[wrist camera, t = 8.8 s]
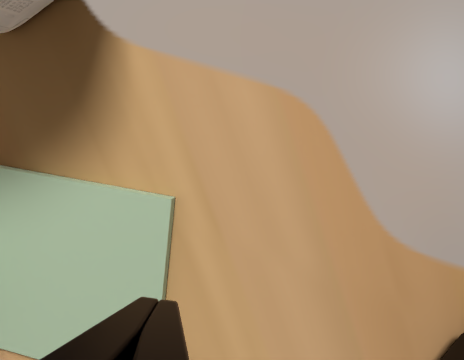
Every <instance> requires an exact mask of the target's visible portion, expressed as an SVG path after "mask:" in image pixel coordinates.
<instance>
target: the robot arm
mask: <svg viewBox="0 0 464 360" xmlns="http://www.w3.org/2000/svg"><path fill="white" fill-rule="evenodd" d="M40 360H189V356H188V351H187V347H186V342H185V337H184V332H183V327H182V322H181V317H180V312H179V307H178V303H177V302H176V301H170V300H163V299H162V300H160V301H158V299H156V298H149V297H140V298H138V299H136V300H135V301H133V302H132V303H130V304H128V305H127V306H125V307H124V308H122V309H120V310H119V311H117V312H115V313H114V314H112V315H111V316H109V317H107V318H106V319H104V320H103V321H101V322H99V323H98V324H96V325H95V326H93V327H91V328H90V329H88V330H86V331H85V332H83V333H82V334H80V335H78V336H77V337H75V338H74V339H72V340H70V341H69V342H67V343H66V344H64V345H62V346H61V347H59V348H57V349H56V350H54V351H53V352H51V353H49V354H48V355H46V356H45V357H43V358H41V359H40ZM441 360H464V333H463V334H461V335H460V337H459V338H458V339H457V340H456V342H455V343H454V344H453V345H452V346H451V348H450V349H449V350H448V351H447V353H446V354H445V355H444V356H443V358H442V359H441Z"/></svg>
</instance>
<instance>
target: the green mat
mask: <svg viewBox="0 0 464 360" xmlns="http://www.w3.org/2000/svg"><path fill="white" fill-rule="evenodd" d="M174 204H175V197H172V196H167V195H161V194H156V193H150V192H145V191H139V190H134V189H128V188H123V187H117V186H112V185H106V184H101V183H95V182H90V181H84V180H79V179H73V178H68V177H62V176H57V175H52V174H46V173H41V172H35V171H30V170H24V169H19V168H13V167H8V166H2V165H0V349H4V350H7V351H11V352H14V353H18V354H21V355H25V356H28V357H32V358H35V359H39V360H40V359H41V358H43V357H45V356H46V355H48V354H49V353H51V352H53V351H54V350H56V349H57V348H59V347H61V346H62V345H64V344H66V343H67V342H69V341H70V340H72V339H74V338H75V337H77V336H78V335H80V334H82V333H83V332H85V331H86V330H88V329H90V328H91V327H93V326H95V325H96V324H98V323H99V322H101V321H103V320H104V319H106V318H107V317H109V316H111V315H112V314H114V313H115V312H117V311H119V310H120V309H122V308H124V307H125V306H127V305H128V304H130V303H132V302H133V301H135V300H136V299H138V298H140V297H149V298H156V299H158V301H160V300H162V299H163V300H165V297H166V287H167V276H168V266H169V256H170V245H171V235H172V225H173V214H174Z"/></svg>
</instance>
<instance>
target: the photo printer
mask: <svg viewBox="0 0 464 360" xmlns="http://www.w3.org/2000/svg"><path fill="white" fill-rule="evenodd" d="M53 1H54V0H0V33H6V32H9V31H11V30H13V29H15V28H17V27H19V26H20V25H22V24H23V23H25V22H26V21H28V20H29V19H30V18H32V17H33V16H34V15H36V14H37V13H38V12H40V11H41V10H42V9H43V8H45V7H46V6H47V5H49V4H50V3H51V2H53Z"/></svg>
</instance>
